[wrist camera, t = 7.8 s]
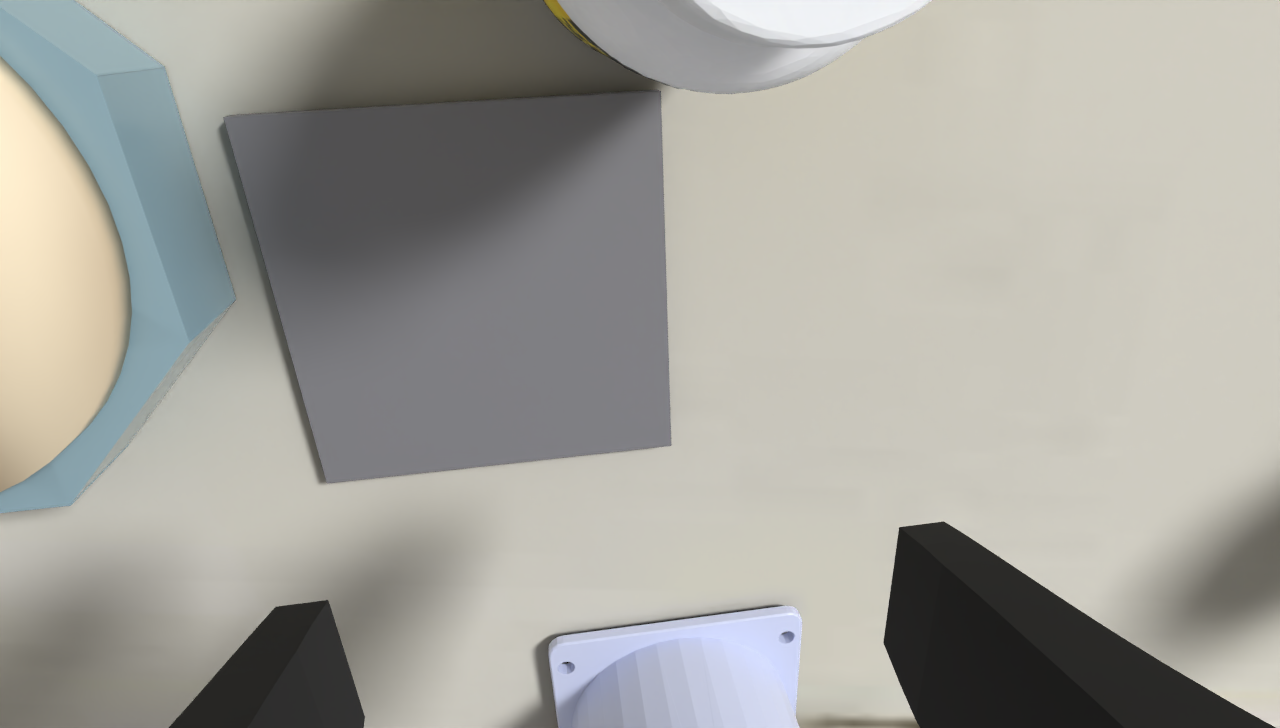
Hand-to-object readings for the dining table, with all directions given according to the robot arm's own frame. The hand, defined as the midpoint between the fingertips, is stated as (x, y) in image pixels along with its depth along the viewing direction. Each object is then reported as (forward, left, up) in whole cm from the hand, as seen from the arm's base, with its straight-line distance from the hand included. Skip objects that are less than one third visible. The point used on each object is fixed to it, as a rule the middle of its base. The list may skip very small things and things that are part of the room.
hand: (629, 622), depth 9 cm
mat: (+1, +2, -10) cm, 10 cm away
